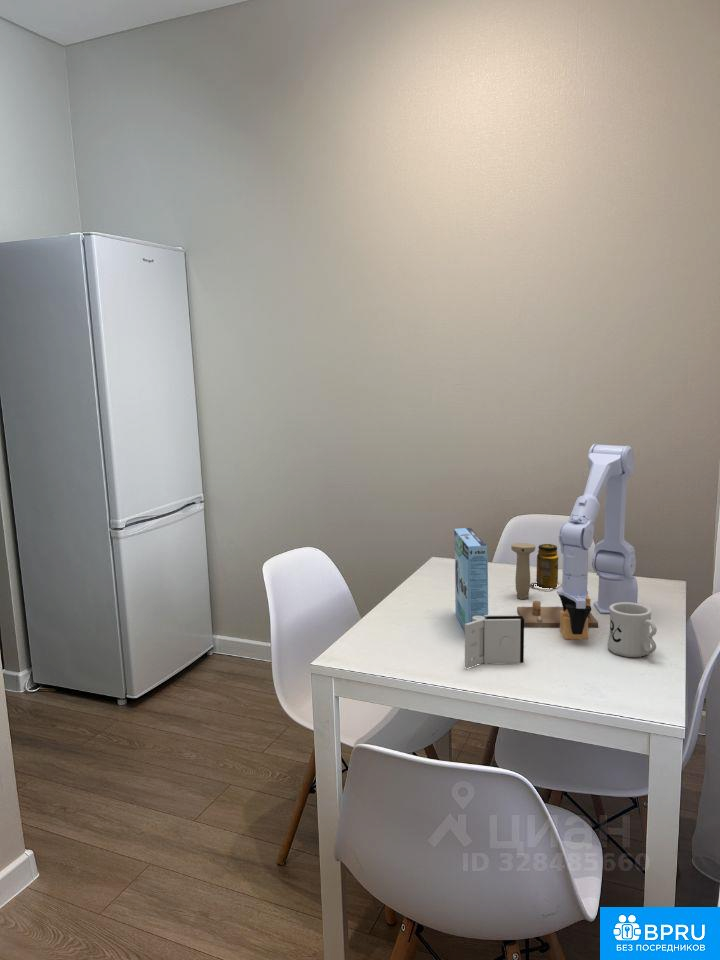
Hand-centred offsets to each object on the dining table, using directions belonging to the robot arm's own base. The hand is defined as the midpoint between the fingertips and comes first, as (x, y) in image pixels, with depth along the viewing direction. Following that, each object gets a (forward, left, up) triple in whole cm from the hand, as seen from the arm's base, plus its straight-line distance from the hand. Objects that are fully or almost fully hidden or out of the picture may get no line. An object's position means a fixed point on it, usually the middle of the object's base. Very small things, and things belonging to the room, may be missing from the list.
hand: (573, 628), depth 178 cm
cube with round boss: (0, 0, -2) cm, 2 cm away
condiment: (0, -39, -2) cm, 39 cm away
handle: (+8, -28, -2) cm, 29 cm away
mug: (-11, +11, -2) cm, 16 cm away
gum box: (+24, -6, -2) cm, 25 cm away
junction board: (+2, -11, -2) cm, 11 cm away
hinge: (+21, +17, -2) cm, 27 cm away
